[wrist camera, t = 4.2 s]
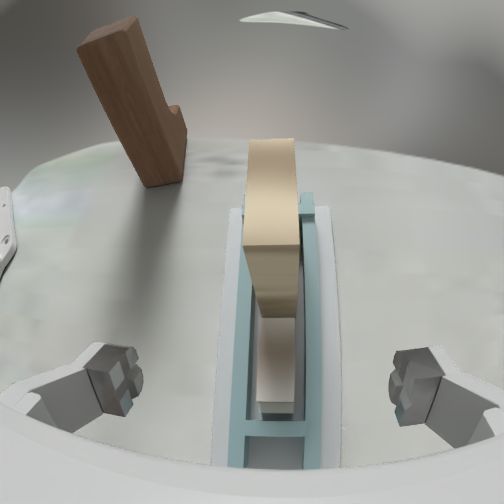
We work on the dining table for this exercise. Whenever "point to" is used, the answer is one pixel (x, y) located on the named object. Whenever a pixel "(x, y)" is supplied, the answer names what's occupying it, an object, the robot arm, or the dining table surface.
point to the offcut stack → (276, 365)
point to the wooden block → (135, 101)
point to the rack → (306, 359)
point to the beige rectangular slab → (272, 226)
